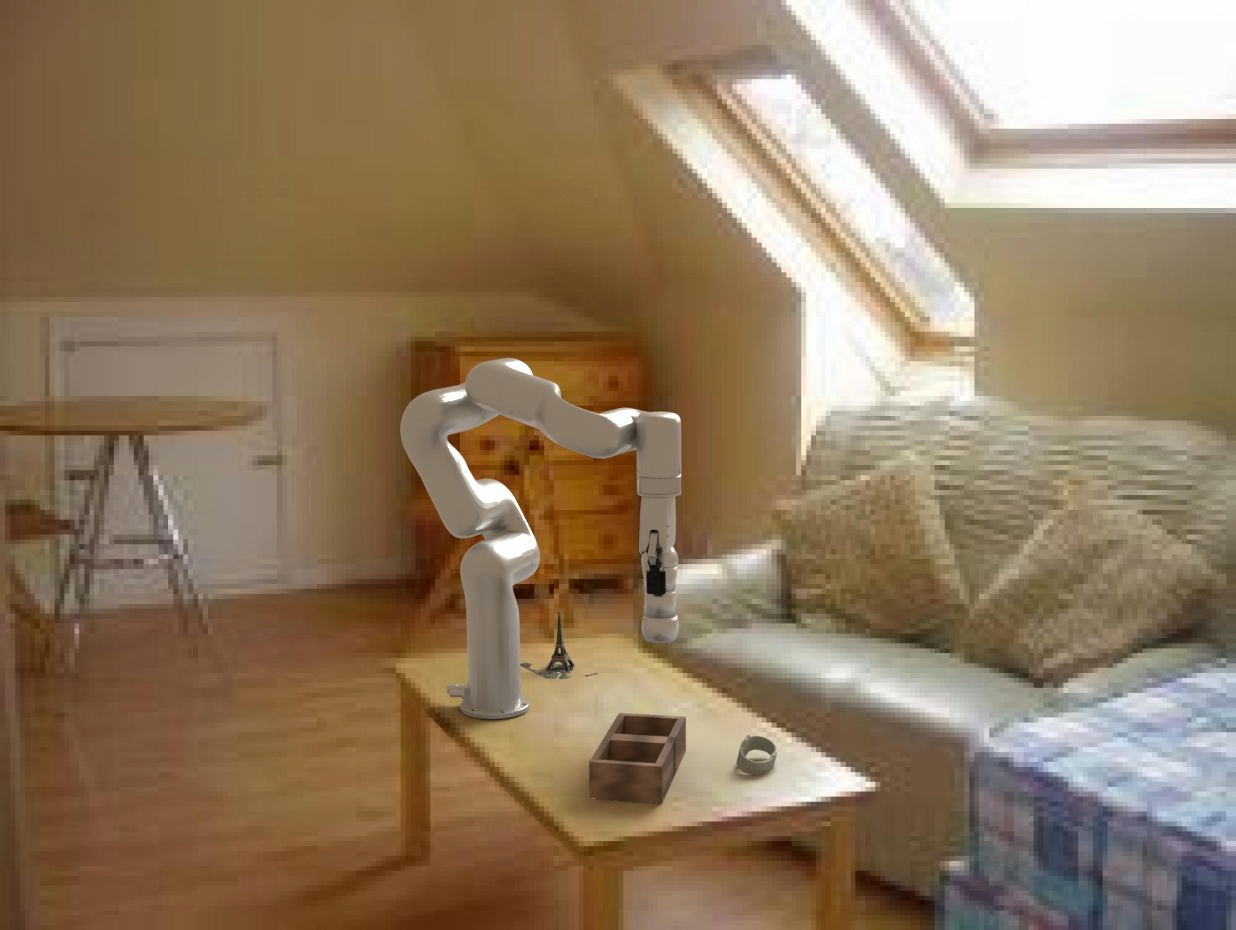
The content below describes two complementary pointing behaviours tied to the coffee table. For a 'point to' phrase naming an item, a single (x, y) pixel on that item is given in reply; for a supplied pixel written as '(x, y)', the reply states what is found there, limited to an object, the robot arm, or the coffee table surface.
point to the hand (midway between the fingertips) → (659, 587)
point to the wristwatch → (756, 744)
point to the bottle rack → (638, 758)
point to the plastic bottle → (661, 604)
